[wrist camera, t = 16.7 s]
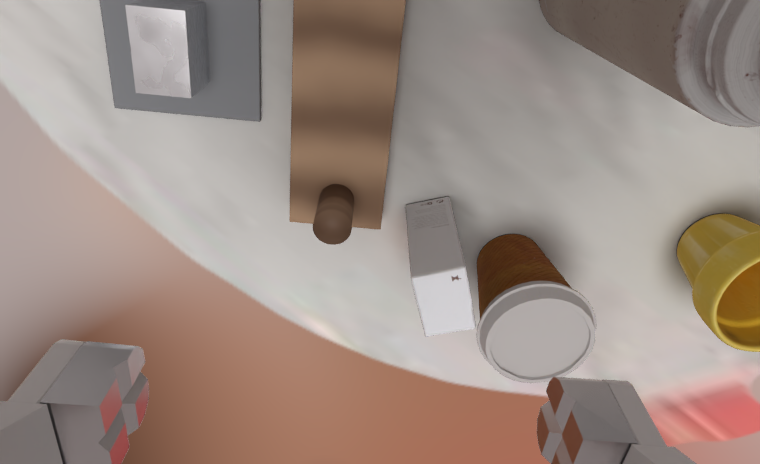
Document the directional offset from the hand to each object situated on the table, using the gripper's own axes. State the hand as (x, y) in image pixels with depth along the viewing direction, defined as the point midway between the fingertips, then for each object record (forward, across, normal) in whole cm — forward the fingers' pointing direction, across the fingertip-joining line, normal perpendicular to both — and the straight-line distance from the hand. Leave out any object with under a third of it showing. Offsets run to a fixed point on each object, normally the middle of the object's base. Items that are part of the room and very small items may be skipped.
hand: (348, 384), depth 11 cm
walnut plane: (+37, +2, +5) cm, 37 cm away
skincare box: (+37, -7, +16) cm, 41 cm away
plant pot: (+37, -34, +15) cm, 53 cm away
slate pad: (+37, +15, +1) cm, 40 cm away
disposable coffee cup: (+37, -15, +19) cm, 44 cm away
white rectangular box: (+36, +15, +1) cm, 39 cm away
